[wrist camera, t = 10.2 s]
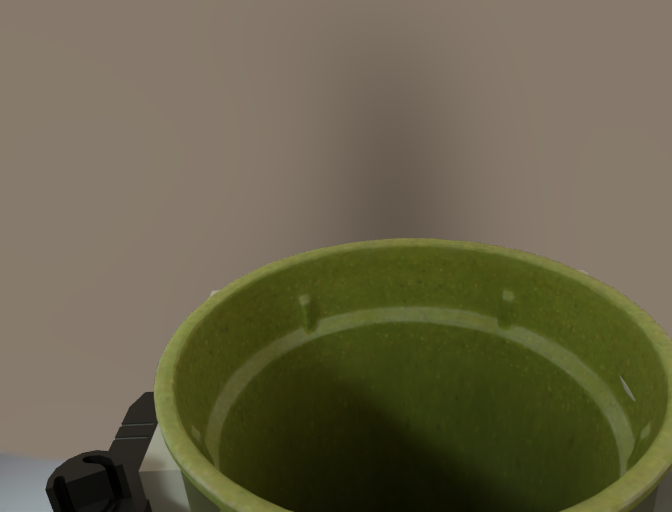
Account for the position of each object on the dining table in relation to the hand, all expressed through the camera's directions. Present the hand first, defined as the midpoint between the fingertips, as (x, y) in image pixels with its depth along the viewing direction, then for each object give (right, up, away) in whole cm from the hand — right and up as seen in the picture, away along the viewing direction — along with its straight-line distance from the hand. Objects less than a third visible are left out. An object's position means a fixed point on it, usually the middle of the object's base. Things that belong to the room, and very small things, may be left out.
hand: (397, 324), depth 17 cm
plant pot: (0, -8, -2) cm, 8 cm away
